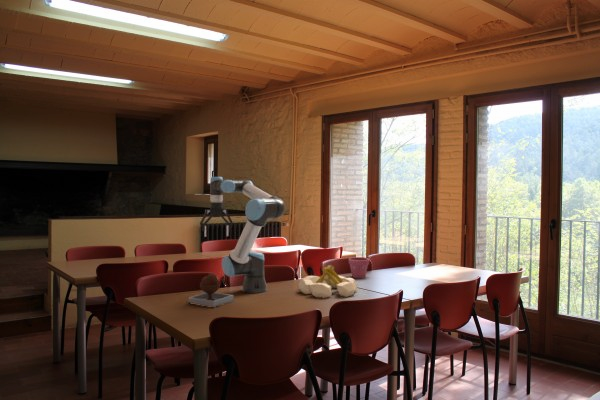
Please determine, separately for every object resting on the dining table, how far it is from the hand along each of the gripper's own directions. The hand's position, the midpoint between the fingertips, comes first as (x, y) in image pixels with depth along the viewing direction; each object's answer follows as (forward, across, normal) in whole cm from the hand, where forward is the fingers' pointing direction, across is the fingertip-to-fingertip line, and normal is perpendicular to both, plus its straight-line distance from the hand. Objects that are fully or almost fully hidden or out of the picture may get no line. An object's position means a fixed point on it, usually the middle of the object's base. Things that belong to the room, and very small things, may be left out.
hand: (216, 236), depth 305 cm
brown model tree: (+31, -8, -40) cm, 51 cm away
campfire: (+32, +63, -28) cm, 76 cm away
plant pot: (+32, +100, +12) cm, 105 cm away
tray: (+32, -7, -40) cm, 51 cm away
